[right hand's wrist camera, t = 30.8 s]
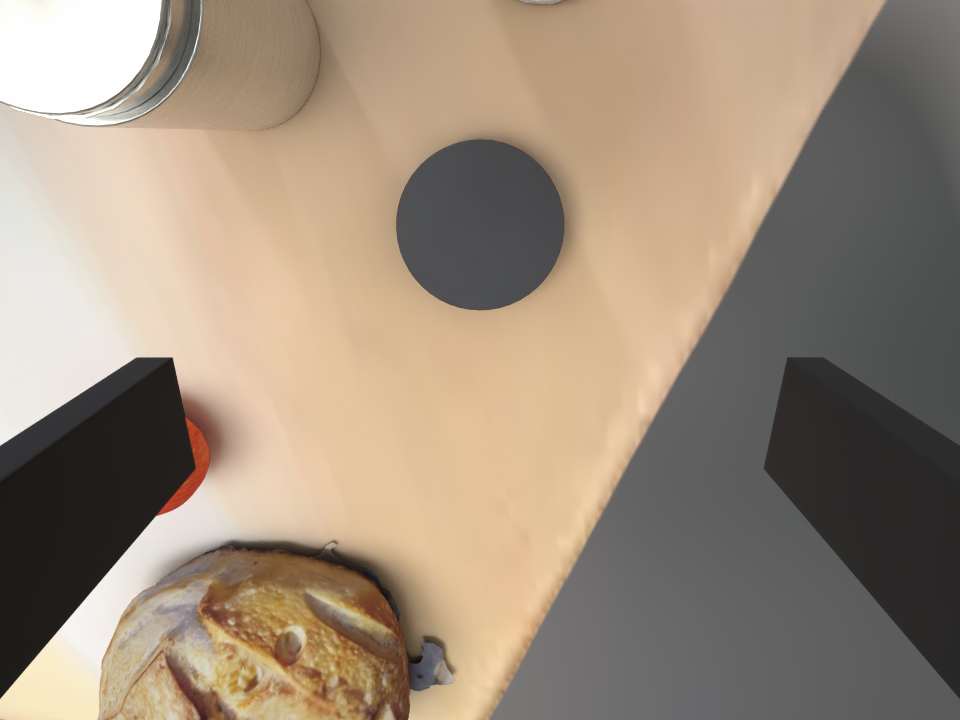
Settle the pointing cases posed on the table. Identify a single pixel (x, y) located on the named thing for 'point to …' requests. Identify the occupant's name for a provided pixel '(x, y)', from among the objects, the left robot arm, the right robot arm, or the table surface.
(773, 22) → the table surface
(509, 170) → the lid
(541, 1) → the mechanical component
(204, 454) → the apple
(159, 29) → the jar
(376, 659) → the bread
